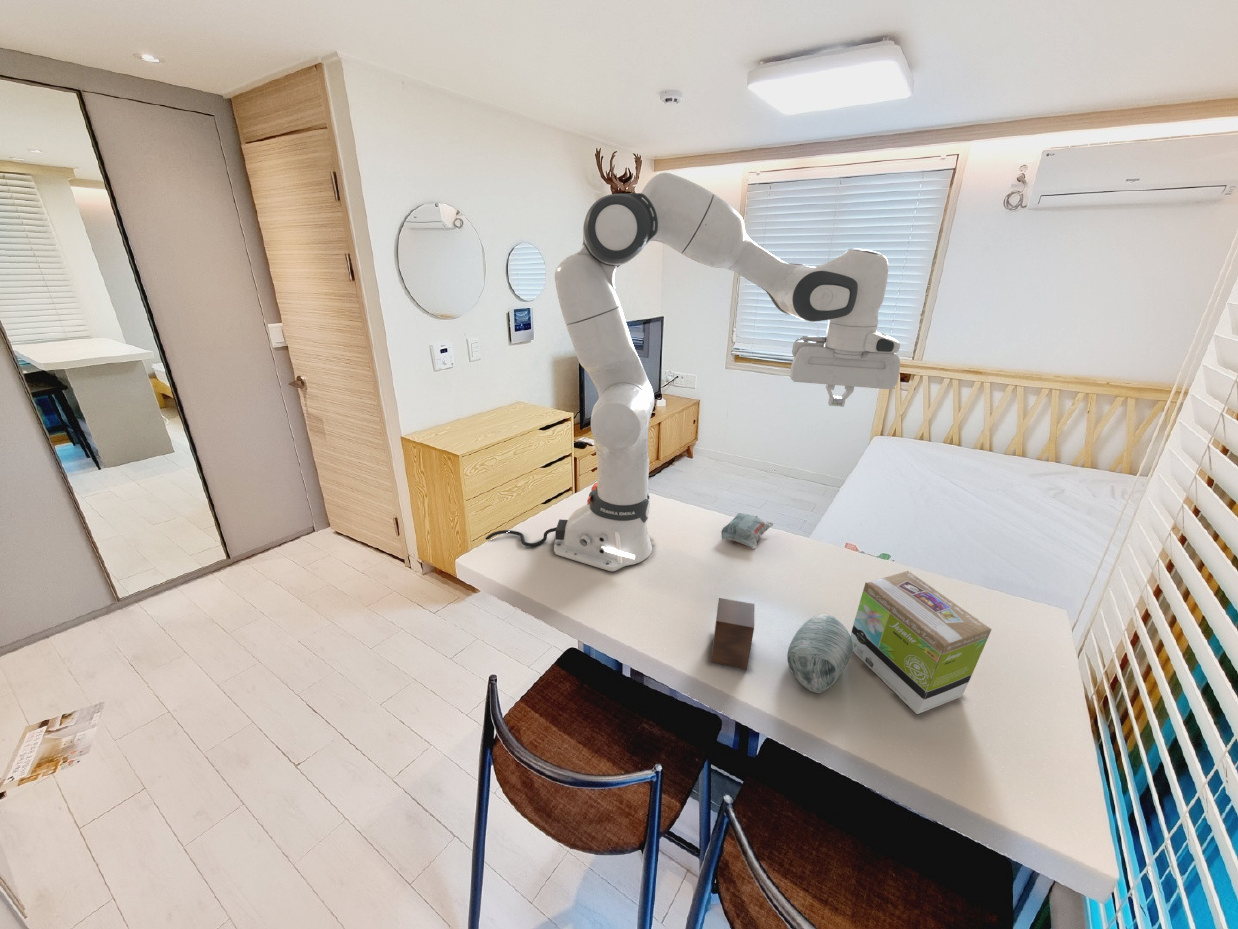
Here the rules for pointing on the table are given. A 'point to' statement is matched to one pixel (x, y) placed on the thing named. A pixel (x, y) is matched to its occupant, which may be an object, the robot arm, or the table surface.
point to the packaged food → (745, 529)
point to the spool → (819, 652)
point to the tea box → (917, 640)
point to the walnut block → (733, 633)
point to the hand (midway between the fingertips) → (835, 405)
